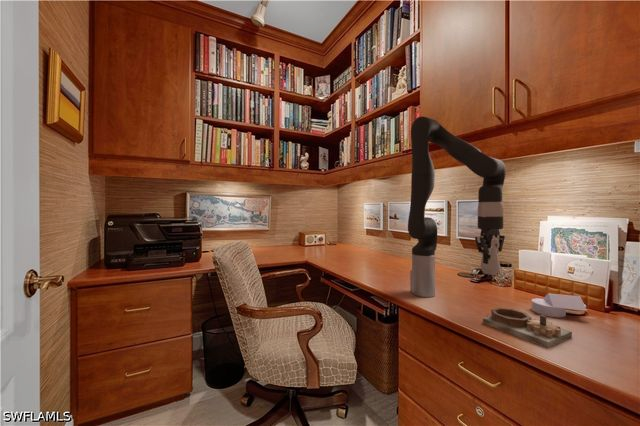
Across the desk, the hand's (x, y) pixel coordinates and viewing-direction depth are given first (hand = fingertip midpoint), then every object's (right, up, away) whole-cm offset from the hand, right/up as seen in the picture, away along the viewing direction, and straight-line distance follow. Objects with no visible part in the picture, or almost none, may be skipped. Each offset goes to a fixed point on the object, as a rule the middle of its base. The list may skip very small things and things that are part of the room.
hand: (490, 264), depth 90 cm
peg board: (+2, -17, -13) cm, 21 cm away
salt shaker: (0, -3, 0) cm, 3 cm away
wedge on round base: (+23, -17, 0) cm, 28 cm away
